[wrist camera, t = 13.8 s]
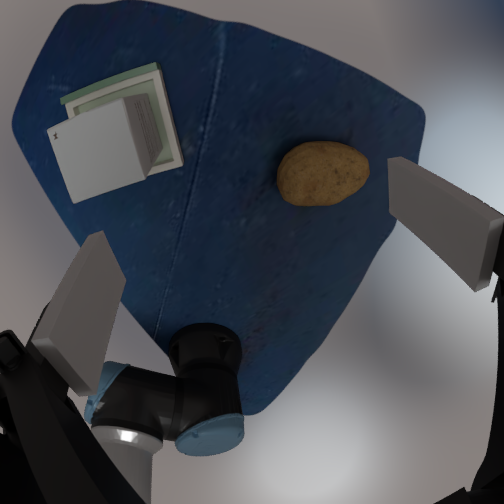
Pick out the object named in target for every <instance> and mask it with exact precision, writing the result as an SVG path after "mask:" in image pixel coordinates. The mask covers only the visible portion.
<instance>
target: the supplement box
mask: <svg viewBox="0 0 504 504" xmlns="http://www.w3.org/2000/svg"><path fill="white" fill-rule="evenodd" d="M47 132H48V135H49V138H50V141H51V144H52V147H53V150H54V153H55V156H56V159H57V161H58V164H59V167H60V170H61V173H62V175H63V178H64V181H65V184H66V187H67V189H68V192H69V194H70V197H71V199H72V201H73V203H77V202H80V201H83V200H85V199H88V198H91V197H94V196H97V195H100V194H103V193H106V192H108V191H111V190H114V189H117V188H120V187H123V186H126V185H130V184H133V183H136V182H139V181H142V180H145V179H146V177H147V175H148V173H149V172H150V170H151V168H152V166H153V165H154V163H155V161H156V159H157V158H158V156H159V154H160V153H161V151H162V149H163V147H162V143H161V140H160V136H159V133H158V129H157V126H156V122H155V119H154V115H153V111H152V108H151V104H150V100H149V97H148V94H147V93H143V94H138V95H132V96H127V97H122V98H119V99H116V100H114V101H111V102H108V103H106V104H103V105H100V106H98V107H95V108H93V109H91V110H88V111H86V112H83V113H81V114H79V115H77V116H74V117H72V118H70V119H68V120H66V121H64V122H61V123H59V124H57V125H55V126H53V127H51V128H49V129H48V130H47Z"/></svg>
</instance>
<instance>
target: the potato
mask: <svg viewBox="0 0 504 504" xmlns="http://www.w3.org/2000/svg"><path fill="white" fill-rule="evenodd" d="M369 174H370V170H369V164H368V160H367V158H366V157H365V156H364V155H363V154H361V153H360V152H359V151H357V150H356V149H355V148H353V147H350V146H347V145H344V144H342V143H339V142H330V141H315V142H305V143H303V144H300V145H298V146H296V147H294V148H293V149H292V150H290V151H289V152H288V153H287V154H286V155H285V156H284V158H283V159H282V161H281V163H280V165H279V167H278V171H277V186H278V188H279V190H280V193H281V195H282V197H283V199H284V200H285V201H287V202H289V203H291V204H293V205H297V206H318V205H333V204H336V203H339V202H340V201H342V200H343V199H345V198H347V197H348V196H350V195H352V194H353V193H355V192H356V191H357V190H359V189H360V188H361V187H362V186H363V185H364V183H365V181H366V180H367V178H368V176H369Z"/></svg>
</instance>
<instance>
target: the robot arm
mask: <svg viewBox="0 0 504 504" xmlns="http://www.w3.org/2000/svg"><path fill="white" fill-rule="evenodd" d="M388 178H389V213H391V214H392V215H393V216H394V217H395V218H396V219H398V220H399V221H400V222H401V223H402V224H404V225H405V226H406V227H407V228H408V229H409V230H410V231H411V232H413V233H414V234H415V235H416V236H417V237H418V238H419V239H420V240H422V241H423V242H424V243H425V244H426V245H427V246H428V247H429V248H430V249H431V250H432V251H434V252H435V253H436V254H437V255H438V256H439V257H440V258H441V259H442V260H443V261H444V262H445V263H446V264H447V265H448V266H449V267H450V268H451V269H452V270H453V271H454V272H455V273H456V274H457V275H458V276H459V277H460V278H461V279H462V280H463V281H464V282H465V283H466V284H467V285H468V286H469V287H470V288H471V289H472V290H473V291H474V292H477V291H479V290H481V289H483V288H485V287H487V286H489V283H490V280H491V276H492V272H494V273H495V274H497V275H498V276H499V277H498V281H497V284H496V287H495V291H494V294H493V297H492V301H491V302H494V301H495V298H496V297H497V303H498V368H497V369H498V370H497V383H496V395H495V403H494V412H493V419H492V425H491V431H490V437H489V442H488V448H487V452H486V456H485V458H484V461H483V462H482V464H481V466H480V468H479V470H478V471H477V474H476V476H475V478H474V481H473V484H472V487H471V491H469V492H466V490H465V487H463V488H461V489H459V490H458V491H456V492H454V493H452V494H451V495H449V496H447V497H445V498H444V499H442V500H440V501H438V502H436V503H434V504H504V215H503V214H501V213H500V212H498V211H497V210H495V209H494V208H492V207H490V206H489V205H487V204H486V203H483V201H481V200H479V199H478V198H476V197H475V196H473V195H470V194H469V193H467V192H465V191H464V190H462V189H460V188H458V187H457V186H455V185H453V184H452V183H450V182H448V181H446V180H445V179H443V178H441V177H439V176H437V175H436V174H434V173H432V172H430V171H428V170H426V169H424V168H423V167H421V166H419V165H417V164H415V163H413V162H411V161H409V160H407V159H405V158H403V157H395V158H390V159H388ZM125 283H126V279H125V277H124V275H123V273H122V271H121V269H120V267H119V264H118V262H117V260H116V258H115V256H114V254H113V252H112V250H111V248H110V245H109V243H108V241H107V239H106V237H105V234H104V232H103V231H100V232H97V233H94V234H91V235H89V236H88V237H87V239H86V240H85V242H84V243H83V245H82V247H81V248H80V250H79V252H78V253H77V255H76V257H75V258H74V260H73V262H72V263H71V265H70V267H69V268H68V270H67V272H66V274H65V276H64V277H63V279H62V281H61V283H60V284H59V286H58V288H57V290H56V292H55V294H54V295H53V297H52V299H51V301H50V302H49V303H48V304H47V305H46V307H45V308H44V309H43V311H42V313H41V316H40V319H38V321H37V323H36V327H34V329H33V332H32V334H31V336H30V338H29V340H28V342H27V344H26V346H25V347H24V346H23V344H22V343H21V342H20V340H19V339H18V338H17V336H16V335H15V334H14V332H13V331H12V330H6V331H3V332H1V333H0V426H1V427H2V428H3V434H1V433H0V504H151V478H152V456H153V454H154V453H156V452H157V451H159V450H160V449H161V448H162V447H163V440H169V441H175V446H176V448H177V450H178V451H179V452H181V453H184V454H185V455H190V456H210V455H216V454H220V453H223V452H226V451H229V450H231V449H233V448H234V447H236V446H237V445H238V444H239V443H240V442H241V441H242V439H243V437H244V416H243V413H242V407H241V401H240V394H239V388H238V381H237V374H238V370H239V366H240V363H241V359H242V348H241V342H240V340H239V338H238V336H237V335H236V334H235V333H234V332H233V331H231V330H230V329H228V328H226V327H223V326H221V325H217V324H210V323H200V324H194V325H190V326H187V327H184V328H182V329H181V330H179V331H178V332H177V333H175V334H174V336H173V337H172V338H171V340H170V343H169V359H170V362H171V365H172V367H173V370H174V373H175V375H176V377H175V376H171V375H167V374H162V373H158V372H154V371H150V370H146V369H142V368H138V367H134V366H131V365H130V364H121V363H117V362H113V361H107V362H105V363H104V358H105V354H106V350H107V346H108V342H109V338H110V335H111V331H112V327H113V323H114V320H115V316H116V313H117V309H118V305H119V302H120V299H121V296H122V292H123V289H124V286H125ZM69 387H70V388H71V389H72V390H73V391H74V392H75V393H76V394H77V395H78V396H88V400H87V404H86V407H85V412H84V418H85V421H87V422H88V423H89V424H92V426H91V430H90V429H89V427H88V426H87V424H86V422H85V421H84V419H83V418H82V416H81V414H80V413H79V411H78V410H77V408H76V406H75V404H74V402H73V401H72V400H71V399H70V398H69V397H68V396H67V392H68V388H69Z"/></svg>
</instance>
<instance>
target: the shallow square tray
mask: <svg viewBox="0 0 504 504" xmlns="http://www.w3.org/2000/svg"><path fill="white" fill-rule="evenodd" d="M143 93H147V94H148V97H149V100H150V104H151V108H152V111H153V115H154V119H155V122H156V126H157V129H158V133H159V136H160V140H161V143H162V147H163V149H162V151H161V153H160V154H159V156H158V158H157V159H156V161H155V163H154V165H153V166H152V168H151V170H150V172H149V173H148V175H152V174H155V173H159V172H162V171H166V170H170V169H173V168H177V167H181V166H183V164H184V159H183V155H182V151H181V147H180V143H179V140H178V136H177V132H176V128H175V124H174V120H173V116H172V112H171V108H170V104H169V100H168V96H167V91H166V87H165V83H164V79H163V75H162V70H161V66H160V64H159V63H157V62H154V63H151V64H148V65H145V66H141V67H138V68H135V69H132V70H129V71H126V72H123V73H121V74H118V75H115V76H112V77H110V78H107V79H104V80H102V81H99V82H97V83H94V84H92V85H89V86H87V87H84V88H82V89H80V90H77V91H75V92H73V93H71V94H68V95H66V96H64V97H62V98H60V100H61V104H62V105H63V104H65V106H66V109H67V113H68V117H69V119H70V118H72V117H74V116H77V115H79V114H81V113H83V112H86V111H88V110H91V109H93V108H95V107H98V106H100V105H103V104H106V103H108V102H111V101H114V100H116V99H119V98H122V97H127V96H132V95H138V94H143ZM148 175H147V176H148Z"/></svg>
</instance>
